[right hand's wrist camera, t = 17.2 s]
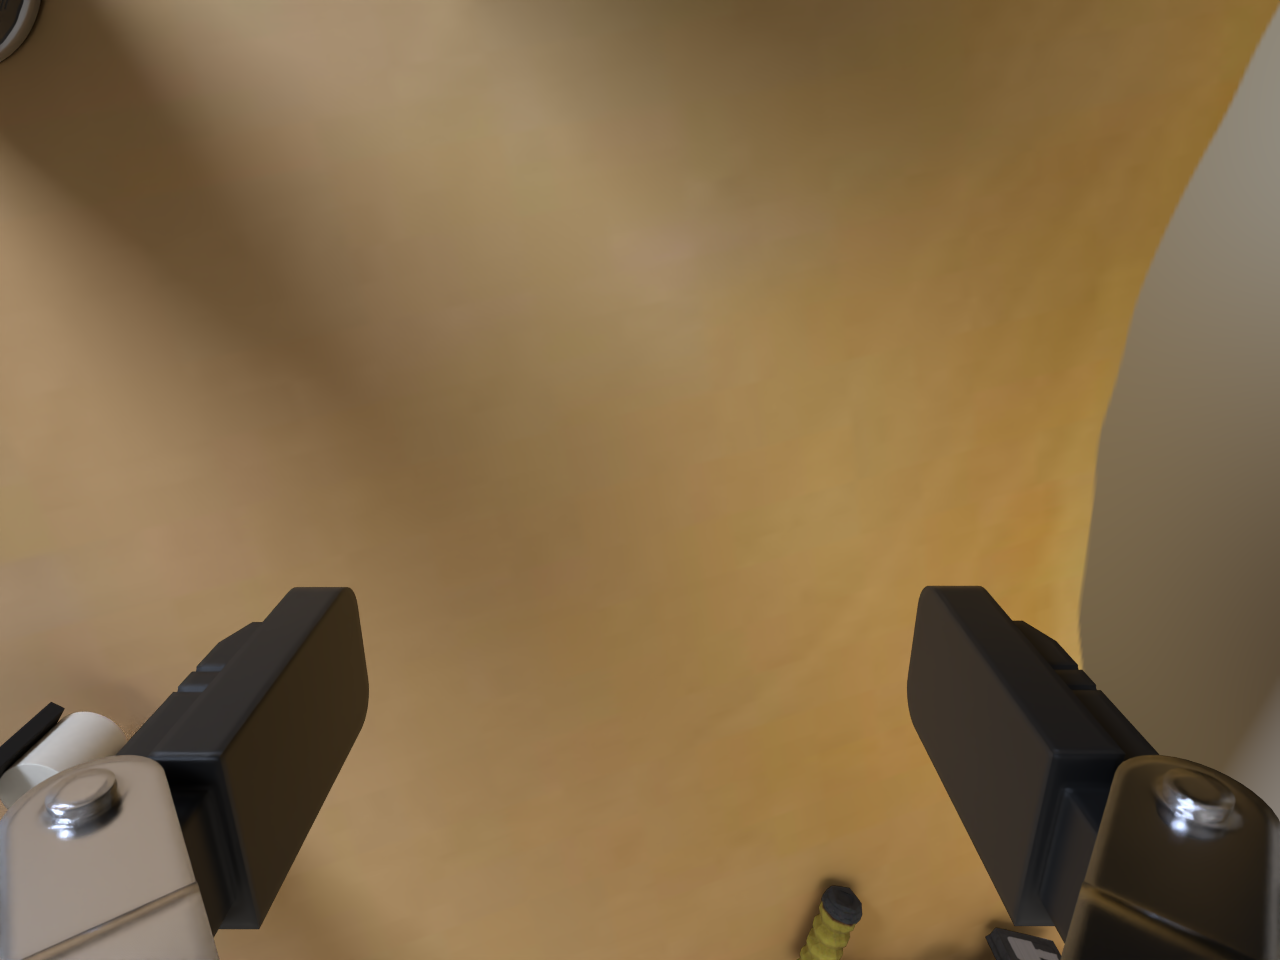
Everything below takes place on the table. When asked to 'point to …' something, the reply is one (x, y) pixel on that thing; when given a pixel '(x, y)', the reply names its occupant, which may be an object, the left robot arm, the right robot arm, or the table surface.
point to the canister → (62, 752)
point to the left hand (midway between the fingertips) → (89, 742)
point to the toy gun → (841, 910)
